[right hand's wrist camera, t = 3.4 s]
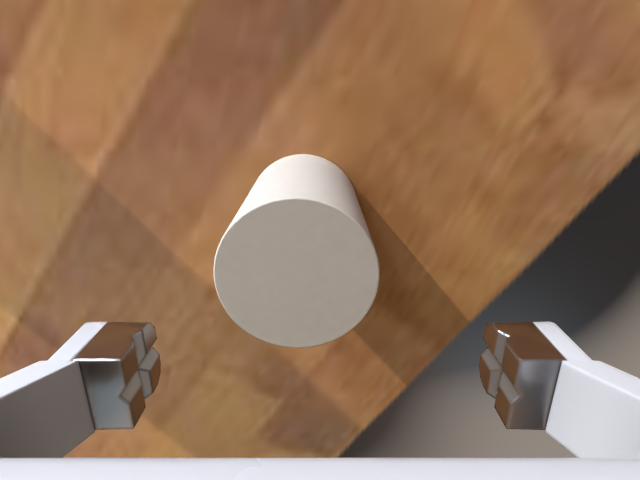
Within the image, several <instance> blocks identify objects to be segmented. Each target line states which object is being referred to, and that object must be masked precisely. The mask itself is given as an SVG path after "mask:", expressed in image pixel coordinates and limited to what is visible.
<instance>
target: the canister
mask: <svg viewBox="0 0 640 480" xmlns="http://www.w3.org/2000/svg"><path fill="white" fill-rule="evenodd" d="M379 279H380V267H379V261H378V256H377V253H376V250H375V247H374V244H373V241H372V238H371V236H370V233H369V230H368V227H367V225H366V222H365V219H364V216H363V213H362V211H361V208H360V205H359V202H358V199H357V197H356V194H355V191H354V188H353V186H352V184H351V182H350V180H349V179H348V177H347V176H346V174H345V173H344V172H343V171H342V170H341V169H340V168H339V167H338V166H336V165H335V164H333V163H332V162H330V161H328V160H326V159H324V158H321V157H319V156H314V155H307V154H298V155H292V156H287V157H285V158H282V159H280V160H278V161H276V162H274V163H273V164H271V165H270V166H269V167H267V168H266V169H265V170H264V171H263V173H262V174H261V175H260V176H259V178H258V179H257V181H256V183H255V184H254V186H253V188H252V189H251V191H250V193H249V194H248V196H247V198H246V199H245V201H244V203H243V204H242V206H241V208H240V209H239V211H238V213H237V214H236V216H235V217H234V219H233V221H232V222H231V224H230V226H229V227H228V229H227V231H226V232H225V234H224V236H223V237H222V239H221V241H220V244H219V246H218V248H217V252H216V255H215V260H214V282H215V288H216V291H217V294H218V297H219V299H220V301H221V303H222V305H223V307H224V309H225V310H226V312H227V313H228V315H229V316H230V317H231V318H232V319H233V321H234V322H235V323H236V324H238V325H239V326H240V327H241V328H242V329H243V330H245V331H246V332H248V333H249V334H250V335H252V336H254V337H256V338H258V339H260V340H262V341H265V342H267V343H270V344H274V345H277V346H283V347H291V348H304V347H313V346H318V345H322V344H325V343H328V342H331V341H333V340H336V339H338V338H339V337H341V336H343V335H345V334H346V333H348V332H349V331H350V330H352V329H353V328H354V327H355V326H356V325H357V324H358V323H359V322H360V321H361V320H362V319H363V318H364V317H365V315H366V314H367V313H368V311H369V309H370V308H371V306H372V304H373V302H374V299H375V297H376V294H377V290H378V286H379Z"/></svg>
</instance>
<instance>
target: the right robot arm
mask: <svg viewBox="0 0 640 480" xmlns="http://www.w3.org/2000/svg"><path fill="white" fill-rule="evenodd" d="M156 339H157V337H156V332H155V327H154V326H153V325H152V323H138V322H88V323H85V324H84V325H83V326H82V327H81V328H80V329H79V330H78V331H77V332H76V333H75V334H74V335H73V336H72V337H71V338H70V339H69V340H68V341H67V342H66V343H65V344H64V345H63V346H62V347H61V348H60V349H59V350H58V351H57V352H56V353H55V354H54V355H53V356H52V357H51V358H50V359H49V360H48V361H39V362H37V363H34V364H32V365H30V366H28V367H25V368H23V369H21V370H19V371H16V372H14V373H12V374H10V375H7V376H5V377H3V378H1V379H0V480H640V379H639V378H637V377H635V376H633V375H630V374H628V373H626V372H624V371H621V370H619V369H617V368H614V367H612V366H610V365H608V364H606V363H603V362H601V361H592V360H591V359H590V358H589V357H588V356H587V355H586V354H585V353H584V352H583V351H582V350H581V349H580V348H579V347H578V346H577V345H576V344H575V343H574V342H573V341H572V340H571V339H570V338H569V337H568V336H567V335H566V334H565V333H564V332H563V331H562V330H561V329H560V328H559V327H558V326H557V325H556V324H555V323H552V322H522V323H488V324H487V326H486V328H485V331H484V337H483V339H484V341H485V342H486V344H487V345H488V347H487V348H486V349H485V350H484V351H483V352H482V353H481V356H480V364H479V368H480V378H481V381H482V384H483V387H484V389H485V391H486V392H487V394H489V395H490V396H492V397H493V398H495V399H496V401H495V409H496V411H497V413H498V414H499V416H500V418H501V420H502V422H503V423H504V425H505V427H506V429H531V430H545V432H546V433H547V434H549V435H550V436H551V437H552V438H554V439H555V440H556V441H558V442H559V443H560V444H561V445H563V446H564V447H565V448H567V449H568V450H569V451H570V452H572V453H573V454H574V455H575V456H577V457H578V458H62V457H64V456H65V455H66V454H67V453H69V452H70V451H71V450H72V449H74V448H75V447H76V446H78V445H79V444H80V443H81V442H83V441H84V440H85V439H86V438H88V437H89V436H90V435H92V434H93V433H94V432H95V430H110V429H134V427H135V425H136V423H137V422H138V420H139V418H140V416H141V414H142V413H143V411H144V409H145V401H144V399H145V398H147V397H148V396H150V395H151V394H153V392H154V391H155V389H156V387H157V385H158V381H159V376H160V367H161V362H160V355H159V353H158V352H157V351H156V350H155V349H154V348H153V347H152V345H153V344H154V342H155V341H156Z"/></svg>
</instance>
